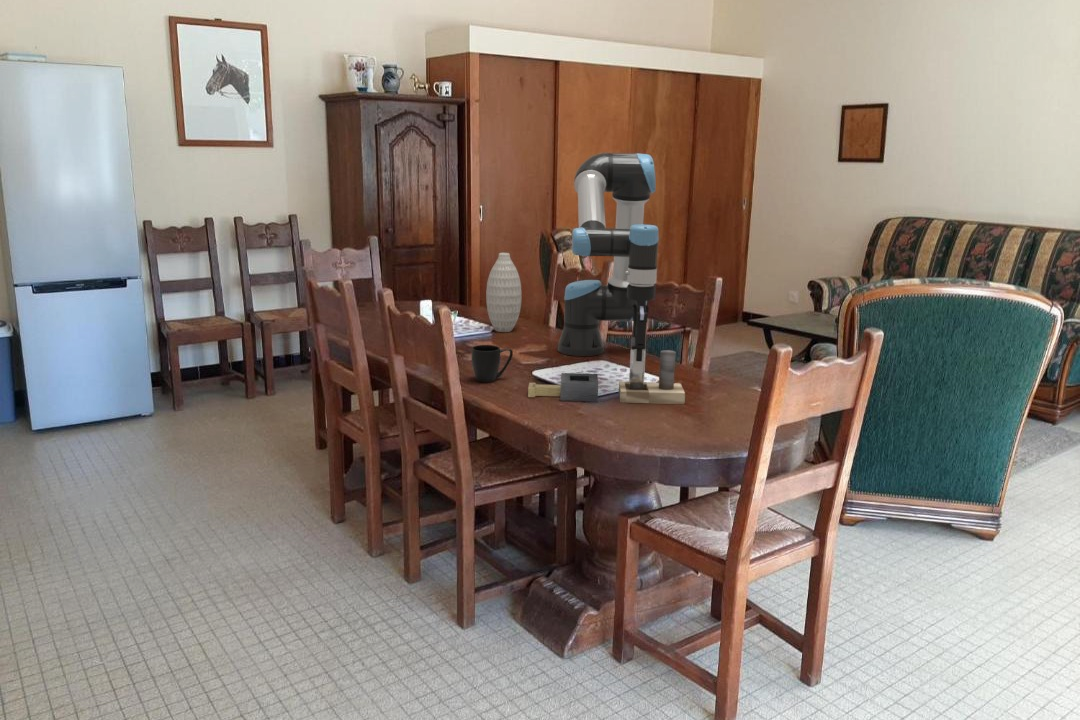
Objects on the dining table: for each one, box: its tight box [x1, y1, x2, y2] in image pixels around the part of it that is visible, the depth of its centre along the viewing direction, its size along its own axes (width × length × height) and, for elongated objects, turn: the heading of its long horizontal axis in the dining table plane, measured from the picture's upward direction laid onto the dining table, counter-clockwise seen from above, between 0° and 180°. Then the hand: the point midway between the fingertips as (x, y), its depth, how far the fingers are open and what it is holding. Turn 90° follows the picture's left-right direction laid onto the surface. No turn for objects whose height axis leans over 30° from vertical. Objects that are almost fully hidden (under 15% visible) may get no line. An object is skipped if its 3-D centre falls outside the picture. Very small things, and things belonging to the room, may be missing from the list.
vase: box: [485, 252, 522, 333], centre depth 310 cm, size 13×13×28 cm
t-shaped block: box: [527, 382, 561, 398], centre depth 234 cm, size 6×11×2 cm, turn 88°
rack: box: [618, 349, 686, 405], centre depth 232 cm, size 10×17×13 cm, turn 88°
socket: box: [559, 372, 600, 403], centre depth 233 cm, size 10×10×5 cm
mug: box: [471, 344, 514, 384], centre depth 247 cm, size 8×12×10 cm
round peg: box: [628, 336, 647, 390], centre depth 231 cm, size 4×4×15 cm
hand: (637, 369), depth 232 cm, fingers closed on round peg, 4 cm apart
